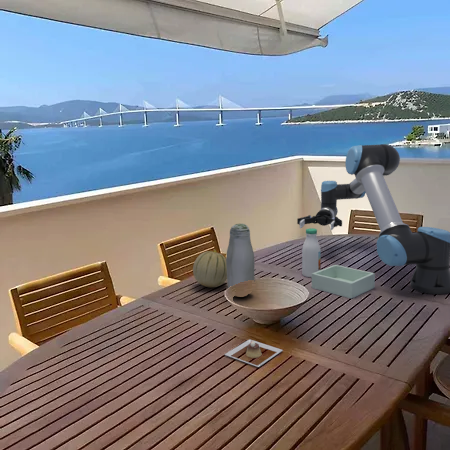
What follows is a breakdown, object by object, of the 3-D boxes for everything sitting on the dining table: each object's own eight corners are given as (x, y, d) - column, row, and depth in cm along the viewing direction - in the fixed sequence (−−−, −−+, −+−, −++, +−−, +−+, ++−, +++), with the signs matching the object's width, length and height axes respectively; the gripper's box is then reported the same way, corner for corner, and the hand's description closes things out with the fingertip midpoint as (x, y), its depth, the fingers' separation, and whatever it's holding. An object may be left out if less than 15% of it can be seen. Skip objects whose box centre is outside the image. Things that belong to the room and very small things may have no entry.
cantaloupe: (188, 291, 188) (186, 254, 185) (201, 279, 202) (199, 245, 199) (224, 293, 184) (222, 256, 181) (234, 281, 197) (233, 246, 194)
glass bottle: (245, 302, 174) (242, 228, 168) (222, 297, 180) (220, 225, 174) (259, 294, 181) (258, 223, 175) (238, 290, 187) (235, 220, 182)
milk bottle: (315, 278, 197) (315, 231, 193) (298, 275, 202) (298, 230, 198) (323, 273, 203) (323, 228, 199) (307, 271, 208) (307, 226, 204)
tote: (374, 287, 184) (374, 273, 183) (351, 298, 174) (351, 283, 173) (335, 278, 197) (335, 264, 196) (311, 287, 187) (311, 273, 186)
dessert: (249, 342, 143) (249, 327, 142) (283, 353, 135) (283, 338, 134) (224, 358, 134) (223, 342, 133) (258, 370, 126) (258, 354, 125)
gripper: (351, 225, 223) (344, 236, 204) (299, 222, 232) (288, 232, 213) (351, 209, 221) (345, 219, 202) (299, 207, 231) (287, 216, 212)
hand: (315, 226), depth 208 cm, fingers open, 13 cm apart
